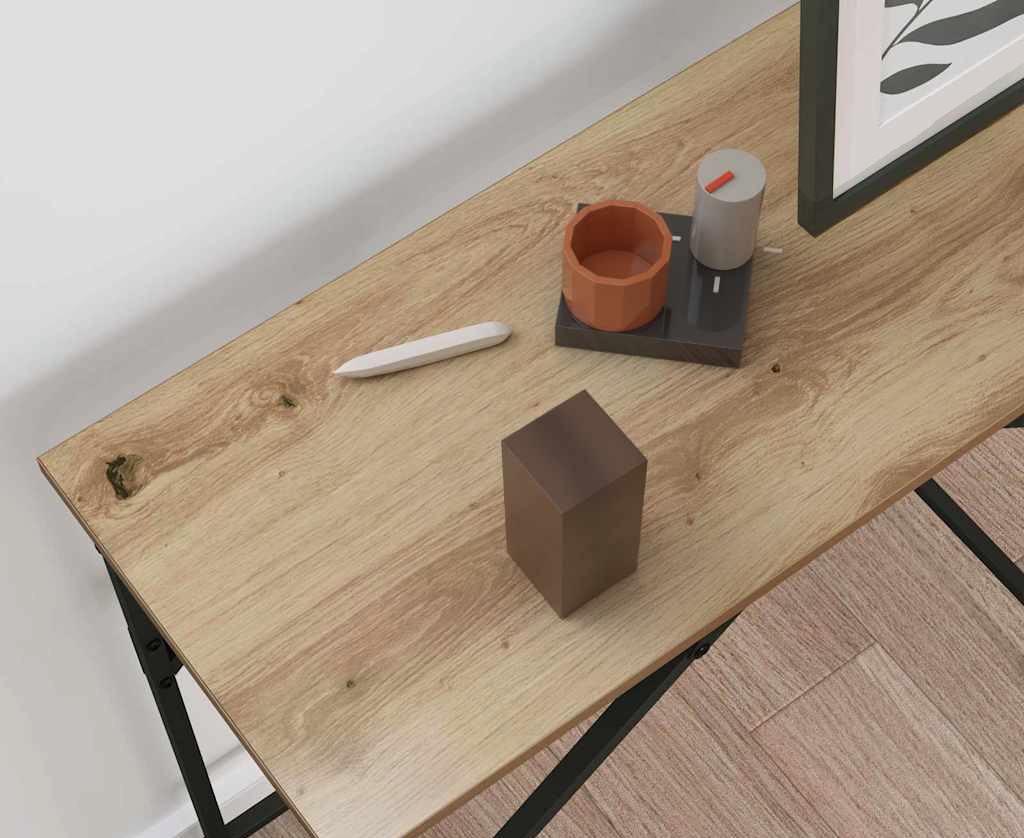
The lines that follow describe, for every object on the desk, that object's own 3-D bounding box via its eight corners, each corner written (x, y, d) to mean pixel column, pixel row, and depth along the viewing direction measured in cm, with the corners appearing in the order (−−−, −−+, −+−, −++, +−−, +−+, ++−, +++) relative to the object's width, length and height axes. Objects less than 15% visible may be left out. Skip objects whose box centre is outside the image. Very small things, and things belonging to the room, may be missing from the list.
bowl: (672, 255, 124) (677, 206, 119) (659, 338, 120) (664, 290, 115) (571, 243, 124) (572, 193, 119) (556, 325, 121) (556, 277, 116)
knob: (723, 208, 126) (733, 134, 118) (768, 247, 124) (781, 174, 116) (675, 241, 124) (683, 169, 117) (720, 281, 122) (731, 210, 115)
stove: (783, 226, 128) (787, 204, 126) (766, 372, 121) (771, 352, 119) (581, 202, 129) (582, 180, 127) (554, 345, 123) (554, 325, 120)
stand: (581, 503, 116) (584, 388, 103) (637, 569, 113) (648, 459, 100) (506, 551, 114) (500, 440, 101) (561, 619, 112) (562, 514, 98)
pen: (331, 374, 122) (329, 361, 120) (508, 326, 124) (508, 313, 122) (337, 390, 121) (334, 378, 120) (514, 342, 123) (514, 329, 122)
